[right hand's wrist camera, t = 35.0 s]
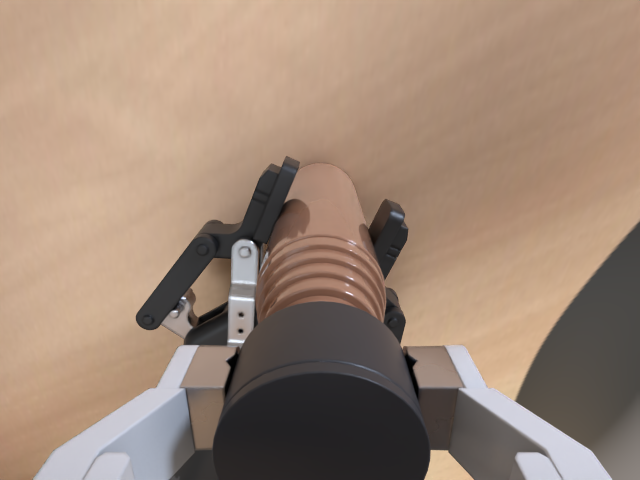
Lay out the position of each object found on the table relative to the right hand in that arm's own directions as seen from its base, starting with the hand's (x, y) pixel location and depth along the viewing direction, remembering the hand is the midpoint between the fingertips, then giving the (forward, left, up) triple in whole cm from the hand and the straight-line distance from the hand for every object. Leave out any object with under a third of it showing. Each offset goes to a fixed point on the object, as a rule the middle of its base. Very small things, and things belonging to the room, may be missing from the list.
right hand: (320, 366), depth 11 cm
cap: (0, 0, +2) cm, 3 cm away
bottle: (0, 0, -16) cm, 16 cm away
